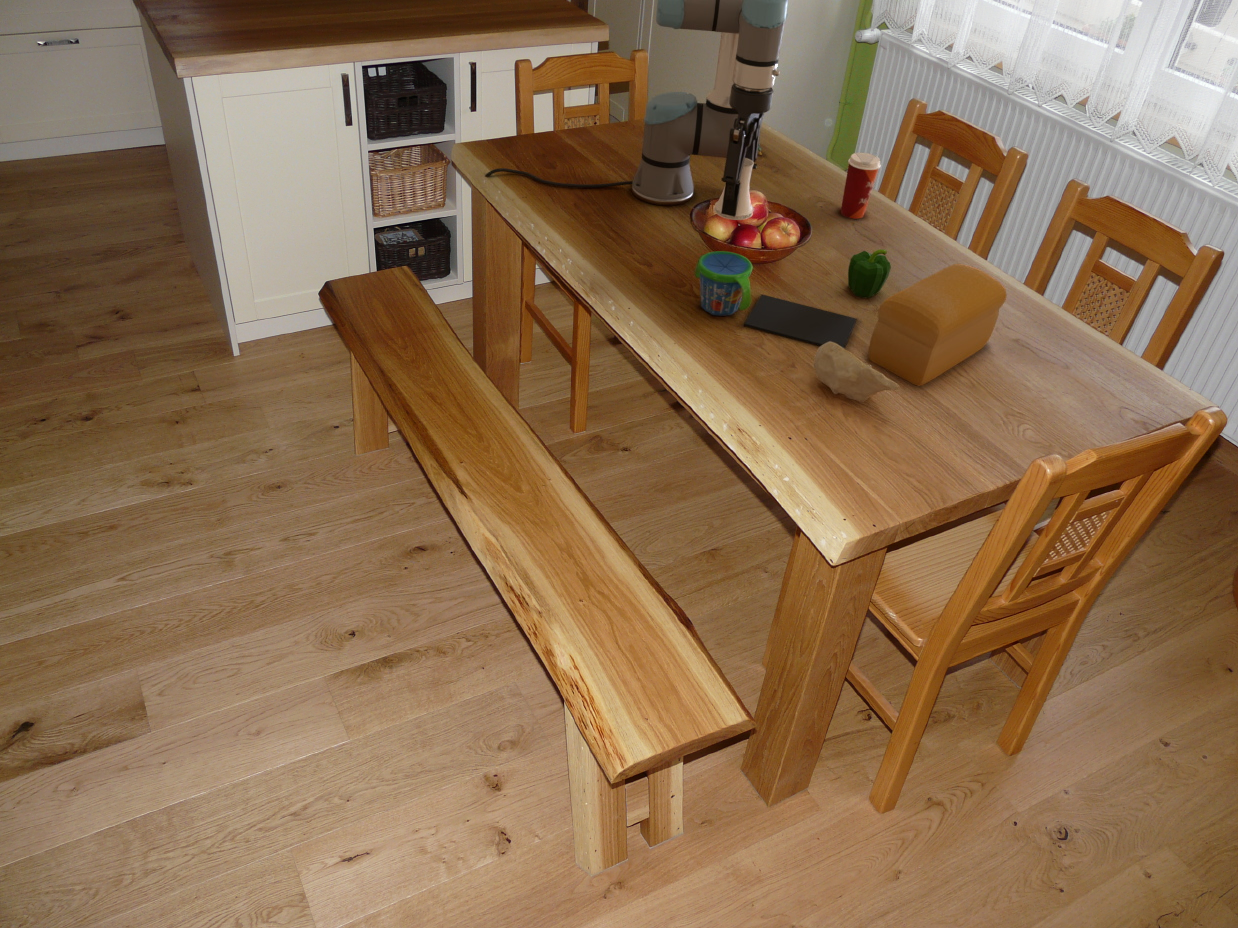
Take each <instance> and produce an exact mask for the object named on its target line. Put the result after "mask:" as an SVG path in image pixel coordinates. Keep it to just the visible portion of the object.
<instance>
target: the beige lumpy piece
mask: <svg viewBox="0 0 1238 928" xmlns="http://www.w3.org/2000/svg"><path fill="white" fill-rule="evenodd" d="M813 368H814V372H815V374H816V376H817V379H818V380H819V381H820V382H821V383H823V384H824V385H826V386H827V387H828V388H829V389H830V390H831V391H832V393H833V394H834V395H838V394H841V395H844V396H845V397H846V398H847V399H851V400H854V401H859V402H860V403H864V402H866V401H867V400H868V399H869V398H870V397H871V396H873V395H877V394H878V393H881V392H884V391H890V392H891V391H895V390H896V391H897V390H898V389H900V385H899V384H898V383H896V382H895V381H893V380H892V379H890V378H888V377H887V376H885V374H884V373H882V372H881V371H878V370H876V369H875V368H873V366H872V365H871V364H870V363H868V362H864V361H862V360H860V359H859V358H858V357H857V356H855V354H854V353H852V352H851V351H849V350H848V349H846V348H842V347H841V346H839V345H838V344H836V343H834V342H830V341H829V342H827V343H825V344H823V345H822V346H818V348H817V351H816V352H815V355H814V362H813Z"/></svg>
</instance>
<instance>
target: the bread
mask: <svg viewBox="0 0 1238 928" xmlns="http://www.w3.org/2000/svg"><path fill="white" fill-rule="evenodd" d="M1006 289H1007V288H1005V286H1003V284H1002V283H1001V282H1000V281H999V280H998V279H996V278H994V277H993V276H992V275H990V274H988V273H987V272H985V271H984V270H982V269H979V268H977V267H974V266H970V265H967V264H964V263H954V264H951V265H948V266H946V267H944V268H943V269H940V270H939V271H937V272H934V273H933V274H931V275H928V276H927V277H925V278H923V279H921V280H919V281H918V282H916V283H914V284H912V285H910V286H908V287H905V288H904V289H902V290H900V291H898V292H896V293H894V294H892V295H891V296H889V297H887V298H886V299H885V300H884V301H883V302H882V303H881V304H880V305H879V307H878V309H877V310H878V311H877V322H876V324H875V326H874V328H873V331H872V335H871V338H870V341H869V345H868V351H867V352H868V360H869V361H871V362H872V363H874V364H877V365H878V366H879V367H882V368H883V369H885V370H887V371H888V372H891V373H892V374H894V375H896V376H898V377H899V378H901V379H902V380H905V381H907V382H908V383H910V384H912V385H914V386H918V387H920V386H923V385H926V384H927V383H929V382H931V381H933V380H934V379H936V378H937V377H939V376H941V375H942V374H944V373H945V372H947V371H949V370H951V369H952V368H953V367H955V366H957V365H958V364H959V363H961V362H963V361H965V360H966V359H968V358H969V357H971V356H973V355H974V354H976V353H978V352H979V351H980V350H982V349H983V348H984V347H985V346H986V345H987V343H988V341H989V340H990V339H991V337H992V334H993V332H994V329H995V327H996V324H997V321H998V317H999V314H1000V310H1001V308H1002V306H1003V305H1004V304H1005V302H1006V300H1007V295H1008V294H1007V290H1006Z"/></svg>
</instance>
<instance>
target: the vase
mask: <svg viewBox="0 0 1238 928" xmlns="http://www.w3.org/2000/svg"><path fill="white" fill-rule="evenodd" d="M754 164H755V162H753V161H752V160H750V159H748V158H745V159H744V163H743V168H742V172H741V176H740V183H741V185H740V192H739V198H738V204H737V211H736V215H735V217H734V216H729V215H725V214H721V212H722V205H723V198H724V191H725V186H724V188H723V190H722V193H721V195H720V197H719V199H718V201H715V203H714V208H713V211H714V213H715V214H716V216H717V215H718V216H719V217H721V218H724V219H727V220H732V221H742V220H743V221H744V220H748V219H750V218H752V216H753V214H754V206H753V205H752V203H751V202H752V201H751V194H750V185H749V184H751V179H750V176H751V177H752V173H751V172H753V169H752V168H753V165H754Z"/></svg>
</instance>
